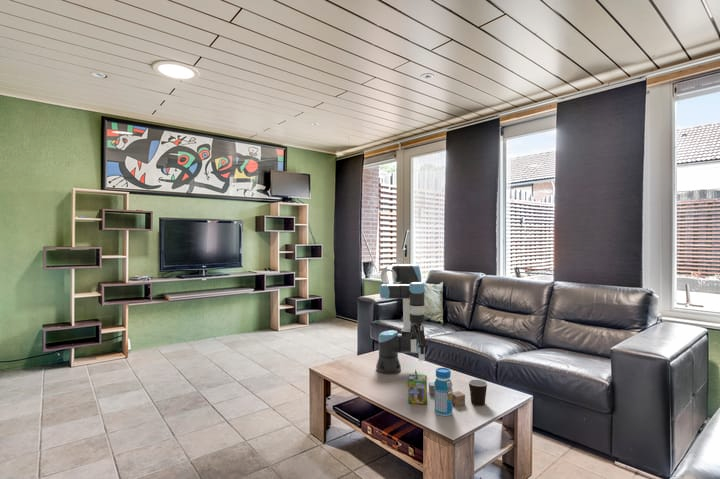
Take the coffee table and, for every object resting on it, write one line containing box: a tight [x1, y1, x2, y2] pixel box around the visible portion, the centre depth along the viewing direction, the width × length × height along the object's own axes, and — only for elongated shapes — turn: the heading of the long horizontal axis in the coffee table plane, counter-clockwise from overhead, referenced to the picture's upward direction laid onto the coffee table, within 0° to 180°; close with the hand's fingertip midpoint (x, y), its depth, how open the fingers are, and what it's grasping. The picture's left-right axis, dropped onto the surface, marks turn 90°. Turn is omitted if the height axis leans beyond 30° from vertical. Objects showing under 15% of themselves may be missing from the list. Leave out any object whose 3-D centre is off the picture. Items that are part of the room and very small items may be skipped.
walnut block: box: [452, 390, 466, 408], centre depth 189 cm, size 5×5×5 cm
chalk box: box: [407, 369, 428, 405], centre depth 193 cm, size 9×9×15 cm
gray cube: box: [428, 381, 435, 396], centre depth 202 cm, size 5×5×5 cm
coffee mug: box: [468, 379, 488, 407], centre depth 191 cm, size 12×9×10 cm
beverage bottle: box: [434, 367, 454, 417], centre depth 180 cm, size 8×8×20 cm
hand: (417, 356), depth 193 cm, fingers open, 13 cm apart
